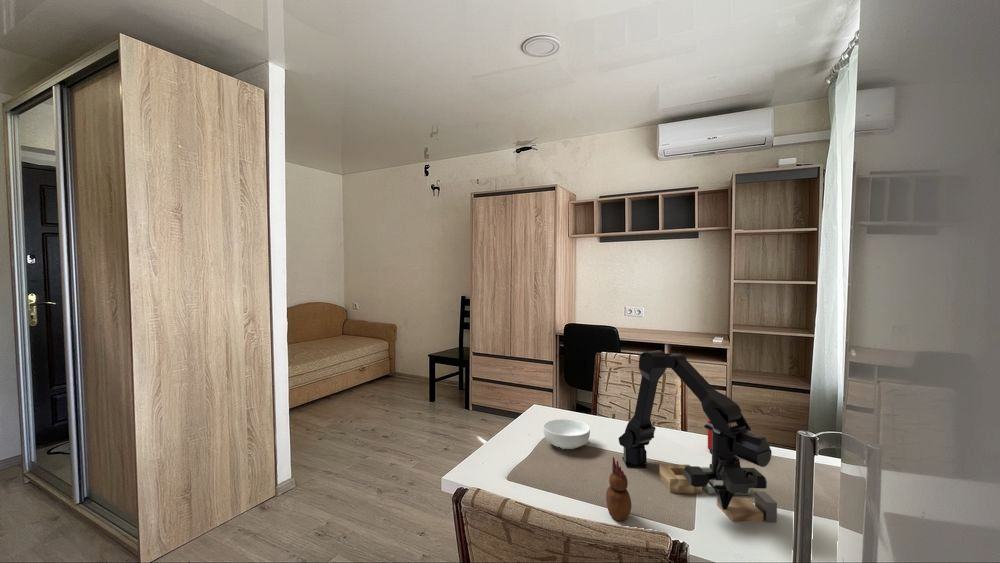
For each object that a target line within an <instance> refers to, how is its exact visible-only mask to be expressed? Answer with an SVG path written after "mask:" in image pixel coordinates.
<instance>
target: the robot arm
mask: <svg viewBox="0 0 1000 563" xmlns="http://www.w3.org/2000/svg"><path fill="white" fill-rule="evenodd" d="M667 369H671V370H672V371H673V372H674V373H675V374H676V375H677V377H678V378H679V379H680V380H681V381H682V383H684V384H685V386H687V388H689V390H690V391H691V392H692V393H693V394H694V395H695V396H696V397H697V399H698V400H699V401H700V402H699V403H701V407H702V411H703V412H704V414H705V415H706V417H707V418H708V420H710V422H709V423H708V422H707V423H706V424H704V425H703V427H704V428H705V429H706V430H708V429H709V430H712V449H710V450H709V454H710V455H711V463H709V467H710V469H711V470H712V472H704V471H703V470H702V469H701V468H700V467H701V466H697V465H696V466H693V465H690V466H686V467H685V468H684V477H685V478H686V479H687V480H688V482H689V483H690V484H691V485H692V486H694V487H702V488H703V487H705V486H706V485H707V484H708V483H709V484H710V485H711V486H712V487H713V488H714V490H715V493H716V494H715V495H716V497H717V498H718V500H719V503H720V505H721V508H722V509H723V510H726V509H727V507H728V505H729V503H730V501H731V499H732V498H734V496H735V495H734V494H735V493H743V494H746V493H748V490H749V488H751V489H765V490H766V489H767V488H768V480H767V478H766V477H765V475H763V474H762V473H761V472H760V471H758V469H756V468H755V467H742V466H741V461H740V459H742V460H745V461H747V462H750V463H752V464H754V465H756V466H758V467H762V468H766V467H767V466H768V464H769V463H770V462H771V458H772V454H773V453H772V449H771V446H770V444H769V443H767V438H766V437H765V436H761V435H758V434H753V433H751V431H752V429H751V427H750V425H749V424H748V422H747V420H746V418H745V416H744V415H743V414H742V409H741V408H740V406H739V405H738V404H737V403H736V402H735V401H734V400H732V399H731V398H730V397H728V396H727V395H725V394H724V393H721V392H719V391H718V390H717V389H715V388H714V387H713V386H712V385H711V384H710V383H709V382H708V381H707V380H706V378H704V377H703V375H701V373H700V372H699V371H698V370H697V369H696V368H695V367H694V366H693V365H692V364H691V363H690V362H689V361H688V360H687V357H686V356H685V355H684V354H682V353H667V352H664V351H663V350H660V349H659V350H652V351H645V352H644V351H643V352H642V353H640V355H639V358H638V370H639V372H640V374H641V378H640V385H639V390H638V394H637V400H636V404H635V405H636V406H635V410H634V414H633V416H632V417H631V419H630V420H629V421H628V422H627V424H626V427H625V431H624V432H623V434H622V435H620V436H619V437H618V444H619V445H620V446H621V447H623V456H622V457H621V460H622V461H623V463H624V465H625V467H626V468H640V469H641V468H645V469H646V468H647V462H648V461H647V457H648V456H647V455H648V454H647V453H648V452H647V450H646V446H649V444H650V441H652V440H653V439H654V438H655V431H656V426H654V425H653V423H652V421H651V417H652V412H653V411H652V410H653V407H654V403H655V397H656V393H657V387H658V382H659V380H660V379H661V377H662V376H663V375H664V374H665V373H666V371H667ZM733 424H736V425H733ZM728 425H729V426H728ZM730 425H733V426H730ZM717 498H716V499H717Z"/></svg>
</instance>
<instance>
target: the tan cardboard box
mask: <svg viewBox="0 0 1000 563" xmlns="http://www.w3.org/2000/svg"><path fill="white" fill-rule="evenodd" d="M716 506H717V507H718V509H720V510H721V512H722V513H723V514H724V515H725V516H727V519H729V520H730V521H731V522H732V523H736V522H737V523H738V522H741V523H742V522H764V519H763V513H762V512H761V511H760V510H759V509H758V508H757V507H756V506H755V504H754V503H752V502H751V501H750V500H749V499H748V498H747V497H732V499H731V501H730V503H729V505H728V507H727V509H726V510H723V509H722V508H721V505H720V503H719V500H718V498H716Z"/></svg>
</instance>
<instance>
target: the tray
mask: <svg viewBox="0 0 1000 563" xmlns="http://www.w3.org/2000/svg"><path fill="white" fill-rule="evenodd" d="M699 467H700V468H701V469H702V470H703V471H704V472H712V470H711V469H710V466H708V467H707V466H699ZM702 489H703V490H704V491H705V492H706V493H707V494H708V495H716V493H715V490H714V488H713V487H712V486H711V485H710V484H709V483H708V484H707V485H706V486H705V487H702ZM751 489H752V488H749V490H748V493H746V494H743V493H735V494H734V495H733V496H751V493H752V492H751Z"/></svg>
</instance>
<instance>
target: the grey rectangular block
mask: <svg viewBox="0 0 1000 563" xmlns="http://www.w3.org/2000/svg"><path fill="white" fill-rule="evenodd" d="M754 505H755V506H756V507H757V508H758V509H759V510H760V511H761V512H762V513H763V521H764V522H767V523H777V522H778V502H777V501H776V500H774V499H773V498H772V496H770V495H769V494H768V493H767V492H766V491H755V492H754Z"/></svg>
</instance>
